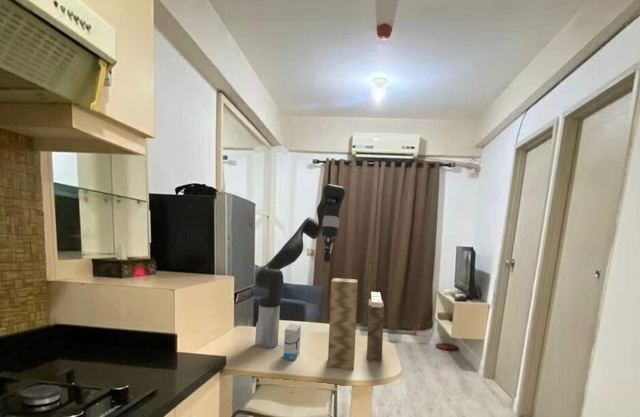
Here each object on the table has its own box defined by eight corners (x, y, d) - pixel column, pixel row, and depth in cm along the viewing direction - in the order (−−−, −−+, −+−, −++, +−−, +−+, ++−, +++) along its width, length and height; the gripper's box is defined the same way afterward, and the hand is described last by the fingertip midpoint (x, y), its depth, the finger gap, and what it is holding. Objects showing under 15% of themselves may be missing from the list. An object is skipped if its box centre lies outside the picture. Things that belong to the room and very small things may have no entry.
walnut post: (366, 360, 137) (368, 305, 138) (367, 349, 149) (368, 299, 150) (381, 361, 136) (383, 306, 137) (380, 350, 148) (382, 300, 149)
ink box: (294, 361, 133) (296, 330, 133) (282, 359, 134) (284, 329, 134) (300, 353, 141) (301, 324, 142) (288, 351, 142) (290, 323, 143)
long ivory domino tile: (371, 306, 135) (371, 301, 135) (371, 296, 157) (371, 291, 157) (381, 307, 135) (382, 302, 135) (379, 296, 156) (379, 292, 156)
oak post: (326, 367, 128) (330, 282, 130) (330, 356, 139) (333, 277, 141) (353, 369, 127) (356, 283, 128) (354, 358, 138) (357, 279, 139)
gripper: (338, 225, 149) (334, 262, 146) (338, 229, 163) (335, 263, 160) (321, 223, 150) (317, 260, 147) (323, 228, 164) (319, 261, 161)
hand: (326, 261), depth 153 cm, fingers open, 8 cm apart
